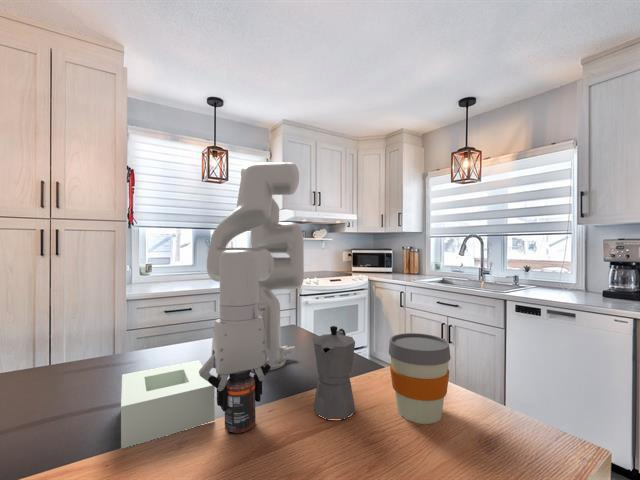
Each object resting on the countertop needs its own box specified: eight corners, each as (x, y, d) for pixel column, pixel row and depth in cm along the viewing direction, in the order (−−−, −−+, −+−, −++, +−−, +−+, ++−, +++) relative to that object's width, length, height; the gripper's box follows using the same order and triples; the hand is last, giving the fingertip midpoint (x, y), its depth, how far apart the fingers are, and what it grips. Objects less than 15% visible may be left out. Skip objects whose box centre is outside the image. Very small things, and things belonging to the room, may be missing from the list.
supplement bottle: (249, 414, 67) (249, 360, 67) (260, 428, 62) (260, 370, 62) (220, 423, 64) (220, 366, 64) (229, 438, 59) (229, 377, 59)
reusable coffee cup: (377, 404, 71) (377, 336, 71) (422, 393, 76) (421, 330, 76) (415, 435, 59) (414, 355, 60) (465, 420, 64) (464, 345, 64)
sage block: (199, 390, 78) (199, 360, 78) (214, 422, 64) (214, 384, 64) (122, 408, 70) (122, 374, 70) (121, 449, 56) (121, 406, 56)
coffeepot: (349, 430, 61) (348, 336, 61) (303, 422, 64) (302, 332, 64) (362, 394, 76) (362, 318, 76) (325, 388, 79) (324, 315, 79)
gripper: (272, 304, 71) (273, 385, 71) (190, 313, 62) (190, 407, 62) (287, 310, 64) (287, 400, 64) (197, 322, 55) (197, 426, 55)
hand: (240, 402), depth 63 cm, fingers closed on supplement bottle, 5 cm apart
